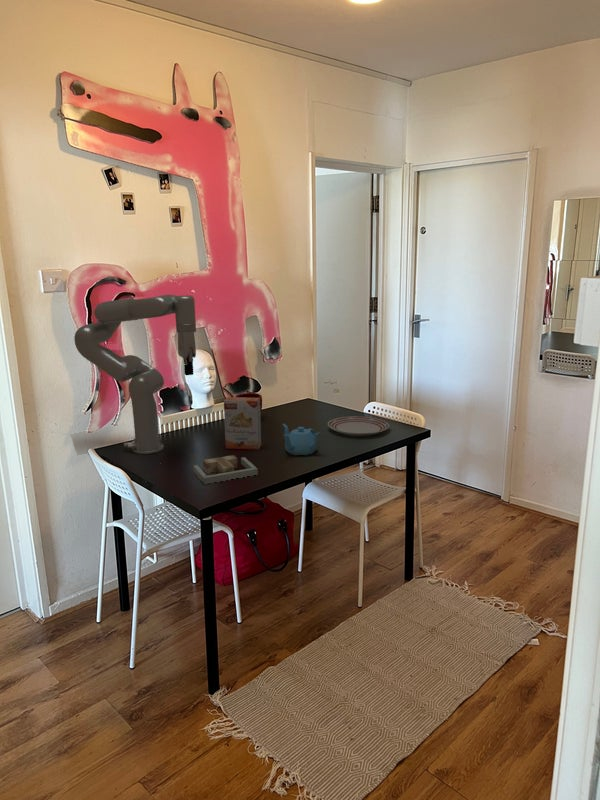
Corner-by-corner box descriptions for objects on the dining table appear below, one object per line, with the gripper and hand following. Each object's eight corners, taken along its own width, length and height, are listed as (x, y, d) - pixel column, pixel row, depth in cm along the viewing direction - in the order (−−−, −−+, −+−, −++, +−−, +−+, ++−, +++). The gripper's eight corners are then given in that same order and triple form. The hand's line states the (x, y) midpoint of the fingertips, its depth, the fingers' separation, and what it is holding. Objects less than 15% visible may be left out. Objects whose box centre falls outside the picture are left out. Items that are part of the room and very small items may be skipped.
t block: (213, 481, 215) (212, 470, 214) (203, 470, 225) (203, 460, 224) (245, 475, 220) (244, 464, 219) (234, 464, 230) (233, 455, 229)
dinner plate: (359, 418, 289) (359, 411, 289) (402, 431, 268) (402, 424, 267) (315, 429, 273) (315, 422, 272) (356, 444, 252) (356, 436, 251)
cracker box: (225, 449, 248) (222, 400, 243) (229, 444, 254) (226, 396, 248) (258, 450, 246) (257, 400, 241) (261, 445, 252) (260, 397, 246)
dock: (204, 484, 211) (203, 478, 211) (193, 472, 223) (193, 465, 223) (257, 475, 219) (257, 468, 219) (244, 463, 231) (244, 457, 231)
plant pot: (236, 416, 295) (235, 392, 292) (263, 416, 295) (262, 392, 292) (233, 424, 283) (232, 399, 280) (261, 423, 282) (261, 399, 279)
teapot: (318, 445, 251) (317, 421, 249) (321, 457, 237) (321, 432, 234) (282, 446, 250) (282, 422, 248) (283, 458, 236) (283, 433, 233)
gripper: (171, 326, 238) (175, 372, 242) (181, 331, 225) (184, 379, 229) (190, 325, 241) (193, 370, 245) (201, 329, 228) (203, 377, 232)
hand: (189, 374), depth 237 cm, fingers closed
